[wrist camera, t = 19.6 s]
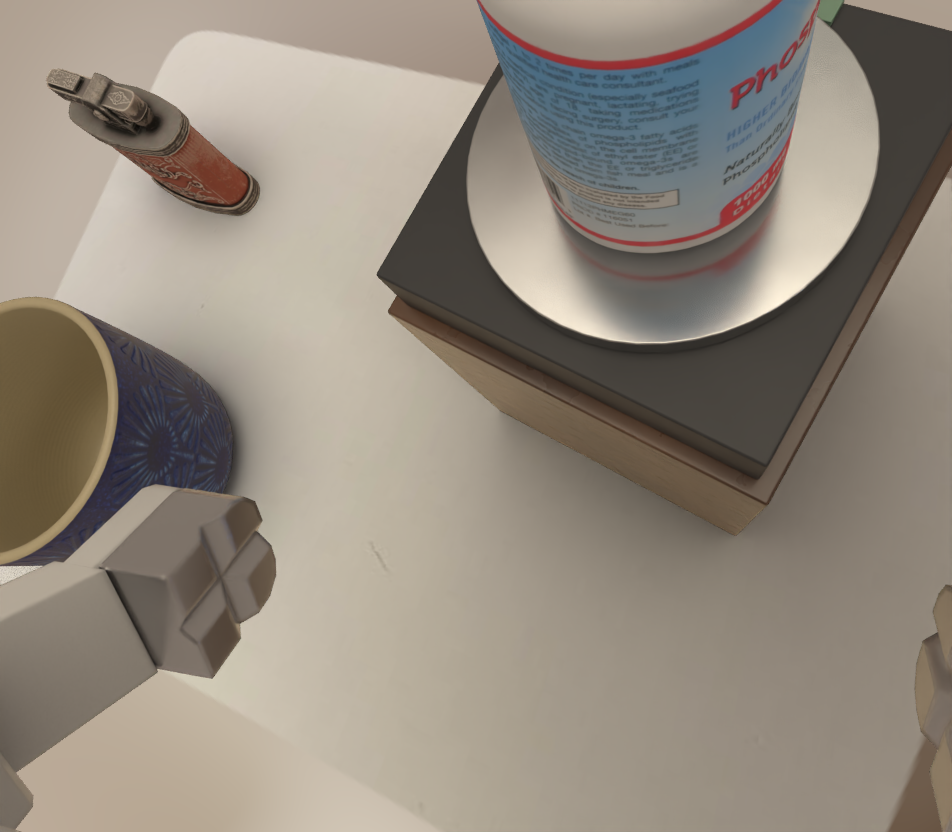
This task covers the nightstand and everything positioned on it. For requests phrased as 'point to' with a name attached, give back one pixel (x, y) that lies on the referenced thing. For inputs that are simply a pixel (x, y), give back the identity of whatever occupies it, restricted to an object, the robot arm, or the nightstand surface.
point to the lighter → (156, 141)
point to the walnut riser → (640, 446)
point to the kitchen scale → (691, 250)
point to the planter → (93, 427)
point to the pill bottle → (655, 108)
